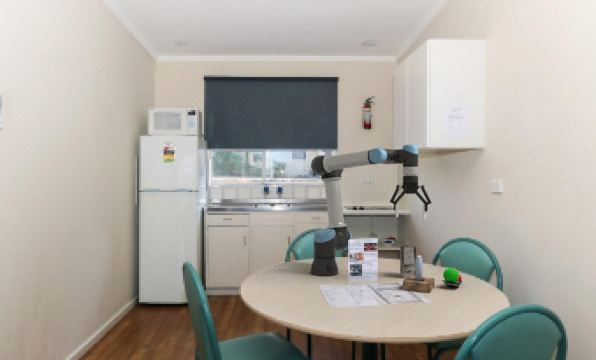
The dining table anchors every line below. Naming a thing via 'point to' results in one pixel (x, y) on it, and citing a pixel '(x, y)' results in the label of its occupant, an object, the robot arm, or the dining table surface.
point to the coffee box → (407, 260)
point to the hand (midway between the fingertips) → (410, 217)
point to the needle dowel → (418, 269)
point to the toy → (452, 277)
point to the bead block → (418, 284)
